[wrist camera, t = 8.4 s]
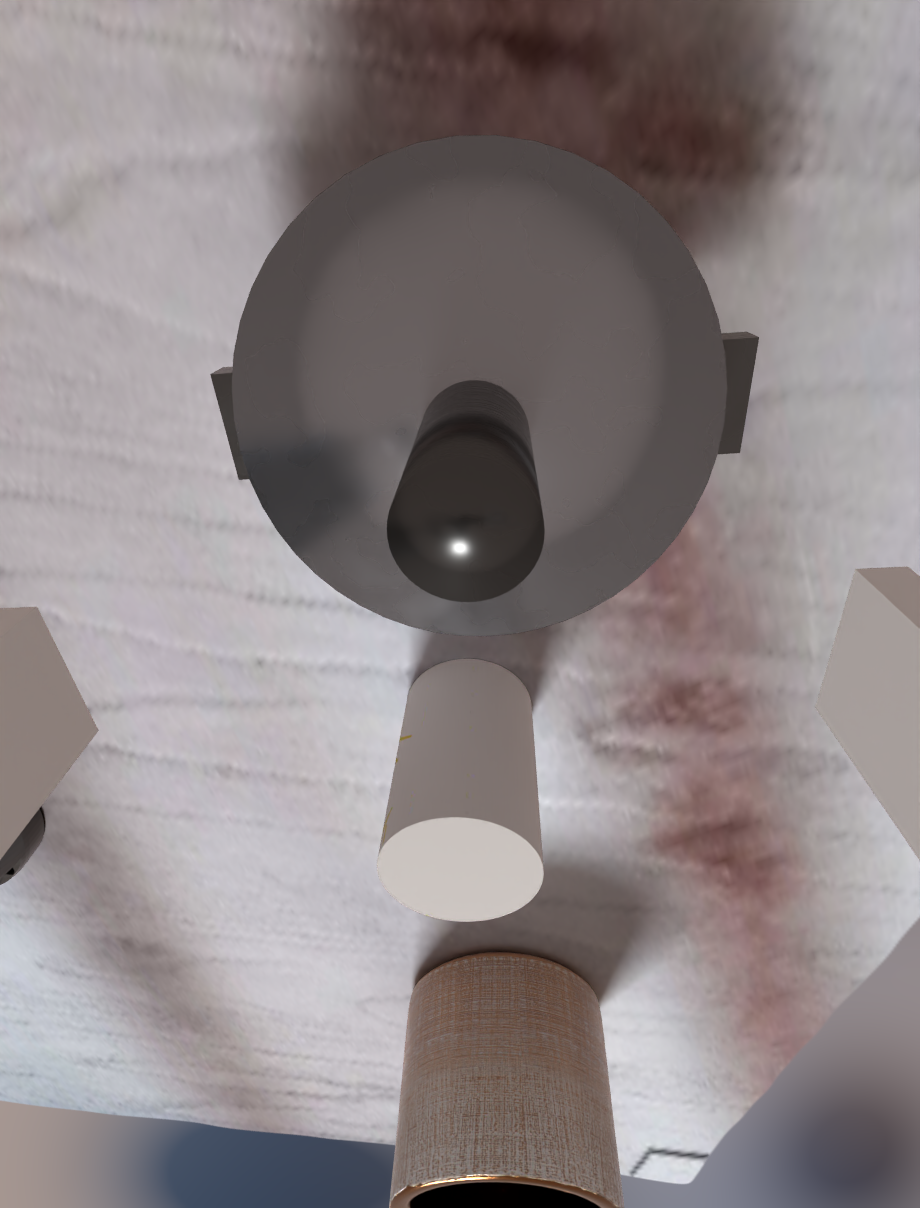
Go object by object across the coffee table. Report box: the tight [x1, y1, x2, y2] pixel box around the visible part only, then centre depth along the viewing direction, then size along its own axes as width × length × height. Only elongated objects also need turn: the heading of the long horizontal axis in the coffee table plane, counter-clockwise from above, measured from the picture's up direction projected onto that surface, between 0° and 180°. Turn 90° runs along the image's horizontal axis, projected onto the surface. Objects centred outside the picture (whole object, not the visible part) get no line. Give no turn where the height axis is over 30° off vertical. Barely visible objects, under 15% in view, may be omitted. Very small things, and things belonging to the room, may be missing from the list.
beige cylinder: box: [377, 659, 544, 922], centre depth 36 cm, size 8×8×12 cm
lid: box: [232, 135, 727, 636], centre depth 18 cm, size 16×16×9 cm
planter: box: [390, 952, 624, 1208], centre depth 53 cm, size 18×18×16 cm
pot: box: [211, 332, 759, 480], centre depth 26 cm, size 19×14×9 cm
